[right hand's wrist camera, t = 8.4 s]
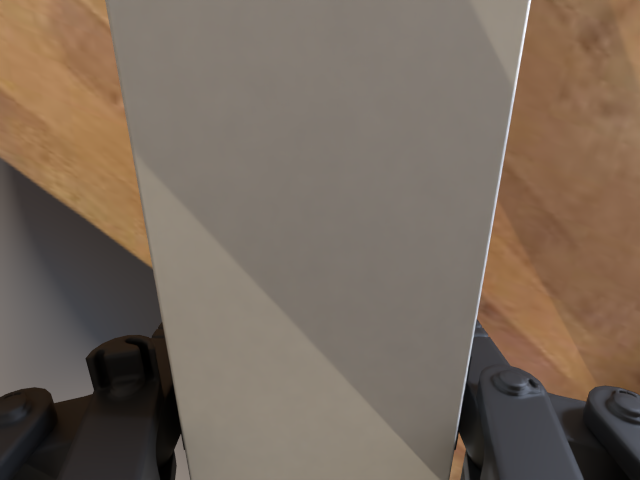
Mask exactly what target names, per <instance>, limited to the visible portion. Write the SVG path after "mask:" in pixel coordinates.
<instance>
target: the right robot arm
mask: <svg viewBox="0 0 640 480" xmlns="http://www.w3.org/2000/svg"><path fill="white" fill-rule="evenodd" d="M86 362H87V366H88V369H89V373H90V377H91V380H92V384H93V388H94V392H93V394H91V395H88V396H84V397H80V398H76V399H71V400H67V401H62V402H58V403H54V402H53V399H52V396H51V394H50V393H49V392H48V391H47V390H46V389H42V388H35V387H34V388H26V389H20V390H17V391H14V392H11V393H8V394H5V395H4V396H2V397H0V480H175V475H176V458H175V452H174V449H175V446H176V444H177V441H178V439H179V437H180V434H181V435H182V429H181V424H180V418H179V413H178V407H177V401H176V396H175V390H174V384H173V379H172V373H171V367H170V362H169V356H168V351H167V345H166V339H165V334H164V328H163V322H162V323H161V324H160V325H159V327H158V329H157V330H156V331H155V332H154V334H153V335H152V338H149V337H146V336H142V335H127V336H123V337H119V338H114V339H112V340H110V341H107V342H105V343H103V344H101V345H100V346H98V347H97V348H95V349H94V350H92V351H91V353H90V354H89V355H88V356H87V357H86ZM459 433H460V435H461V438H462V440H463V443H464V445H465V447H466V452H465V458H464V463H463V468H462V474H461V479H460V480H640V395H638V394H636V393H634V392H631V391H629V390H626V389H622V388H619V387H611V386H600V387H595V388H594V389H592V390H591V391H590V392H589V395H588V398H587V401H586V402H585V401H581V400H576V399H572V398H567V397H563V396H558V395H554V394H551V393H547V391H546V389H545V388H544V387H543V385H542V384H541V382H540V381H539V380H537V379H536V378H535V377H534V376H532V375H531V374H530V373H527V372H525V371H523V370H521V369H519V368H516V367H512V366H510V365H509V363H508V362H507V360H506V359H505V358H504V356H503V355H502V353H501V352H500V351H499V349H498V348H497V346H496V345H495V344H494V342H493V341H492V340H491V338H490V337H488V334H487V333H486V331H485V330H484V328H482V326H481V324H480V323H479V321H478V320H477V319H476V325H475V331H474V337H473V343H472V349H471V354H470V360H469V366H468V372H467V378H466V384H465V390H464V395H463V401H462V407H461V413H460V419H459V425H458V431H457V436H456V442H455V448H454V450H456V445H457V440H458V434H459ZM182 441H183V435H182ZM183 447H184V450H185V446H184V441H183Z"/></svg>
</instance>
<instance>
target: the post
mask: <svg viewBox="0 0 640 480" xmlns="http://www.w3.org/2000/svg"><path fill="white" fill-rule="evenodd" d="M105 1H106V7H107V12H108V18H109V24H110V29H111V35H112V41H113V46H114V52H115V58H116V63H117V69H118V74H119V80H120V86H121V91H122V97H123V103H124V108H125V114H126V120H127V125H128V131H129V136H130V142H131V148H132V153H133V159H134V165H135V170H136V176H137V182H138V187H139V193H140V198H141V204H142V210H143V215H144V221H145V227H146V232H147V238H148V243H149V249H150V255H151V260H152V266H153V272H154V277H155V283H156V289H157V294H158V300H159V305H160V311H161V316H162V322H163V328H164V334H165V339H166V345H167V351H168V356H169V362H170V367H171V373H172V379H173V384H174V390H175V396H176V401H177V407H178V413H179V418H180V424H181V429H182V435H183V441H184V446H185V452H186V458H187V463H188V469H189V474H190V480H449V477H450V472H451V466H452V460H453V454H454V448H455V442H456V436H457V431H458V425H459V419H460V413H461V407H462V401H463V395H464V390H465V384H466V378H467V372H468V366H469V360H470V354H471V349H472V343H473V337H474V331H475V325H476V319H477V313H478V308H479V302H480V296H481V290H482V284H483V278H484V272H485V267H486V261H487V255H488V249H489V243H490V237H491V231H492V225H493V220H494V214H495V208H496V202H497V196H498V190H499V184H500V179H501V173H502V167H503V161H504V155H505V149H506V143H507V138H508V132H509V126H510V120H511V114H512V108H513V102H514V97H515V91H516V85H517V79H518V73H519V67H520V61H521V56H522V50H523V44H524V38H525V32H526V26H527V20H528V15H529V9H530V3H531V0H105Z"/></svg>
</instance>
